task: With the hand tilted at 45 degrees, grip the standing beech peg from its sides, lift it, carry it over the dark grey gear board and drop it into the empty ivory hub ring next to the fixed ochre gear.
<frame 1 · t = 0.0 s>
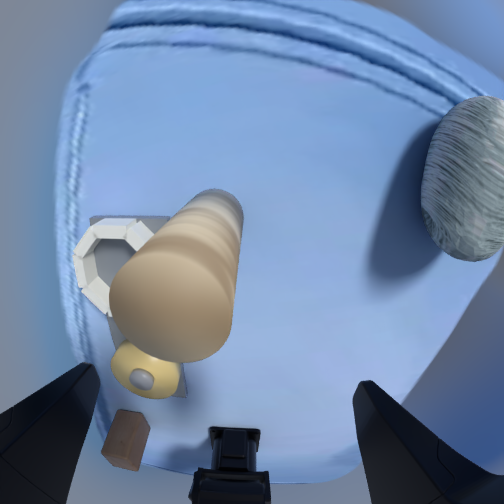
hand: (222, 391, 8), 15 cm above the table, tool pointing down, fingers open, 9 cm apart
gear board: (142, 320, 25), on the table
wooden block: (134, 417, 31), on the table
peg: (214, 217, 21), on the table
grey streaked oval stone: (448, 169, 20), on the table
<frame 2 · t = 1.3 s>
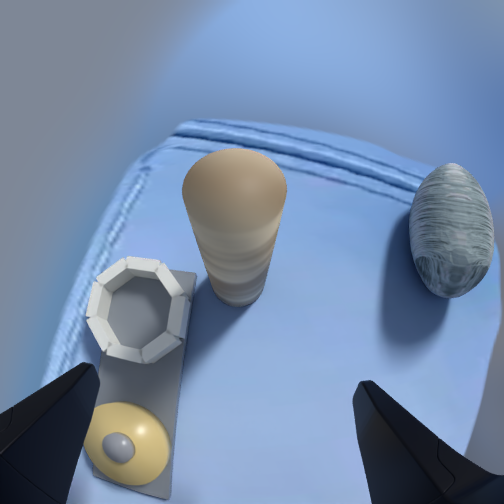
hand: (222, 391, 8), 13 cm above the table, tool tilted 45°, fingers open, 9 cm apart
gear board: (138, 385, 20), on the table
peg: (238, 281, 23), on the table
grey streaked oval stone: (430, 245, 26), on the table
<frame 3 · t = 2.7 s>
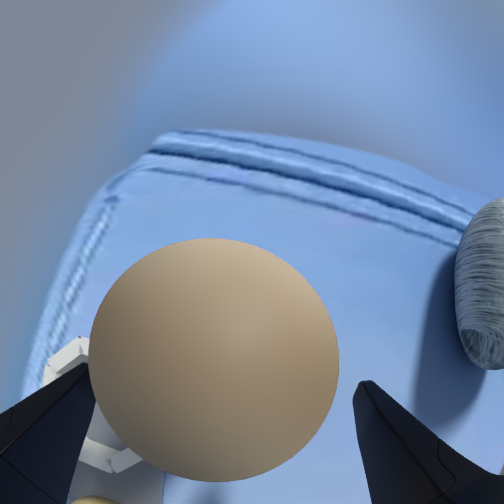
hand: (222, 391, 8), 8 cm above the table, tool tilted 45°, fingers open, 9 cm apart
gear board: (115, 480, 12), on the table
peg: (232, 368, 16), on the table
grey streaked oval stone: (472, 297, 19), on the table
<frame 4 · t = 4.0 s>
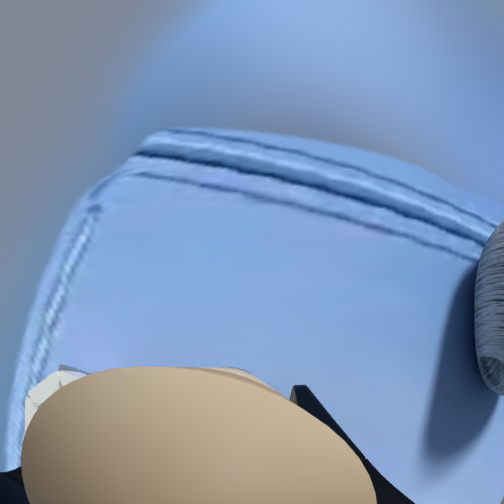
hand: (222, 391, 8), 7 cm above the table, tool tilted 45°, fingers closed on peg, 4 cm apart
peg: (229, 405, 14), on the table, touching gripper
grey streaked oval stone: (489, 315, 16), on the table
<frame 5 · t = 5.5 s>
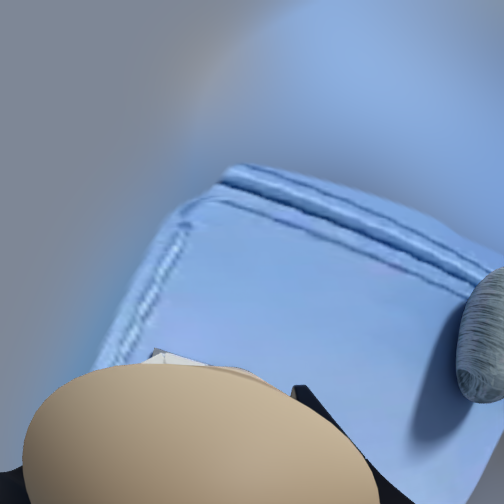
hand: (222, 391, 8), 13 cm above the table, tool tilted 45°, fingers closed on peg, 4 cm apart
gear board: (170, 468, 17), on the table
peg: (230, 405, 14), point 7 cm above the table, touching gripper
grey streaked oval stone: (472, 341, 22), on the table
when the fingers open (10 cm above the table, at t = 6.9 s): peg drops 3 cm, resting on gear board.
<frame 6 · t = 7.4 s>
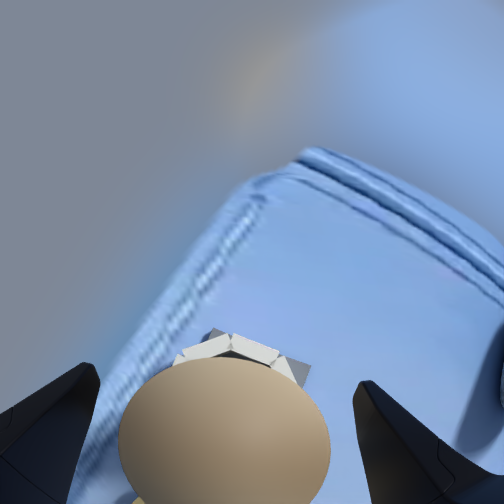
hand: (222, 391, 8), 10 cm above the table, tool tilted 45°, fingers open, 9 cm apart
gear board: (206, 470, 15), on the table
peg: (230, 400, 16), point 1 cm above the table, touching gear board
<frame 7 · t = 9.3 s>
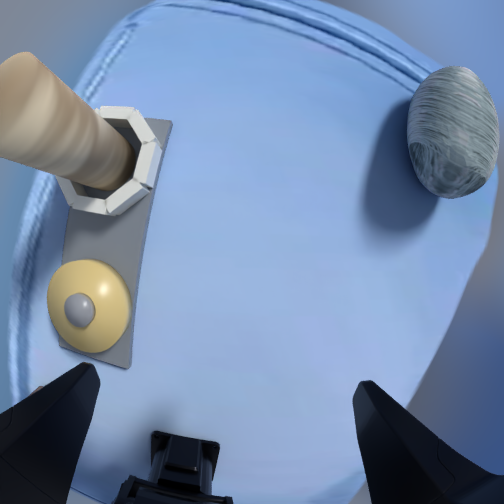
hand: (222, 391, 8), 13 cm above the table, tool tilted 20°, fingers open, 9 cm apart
gear board: (104, 240, 20), on the table
peg: (109, 163, 19), point 1 cm above the table, touching gear board
grey streaked oval stone: (429, 138, 22), on the table
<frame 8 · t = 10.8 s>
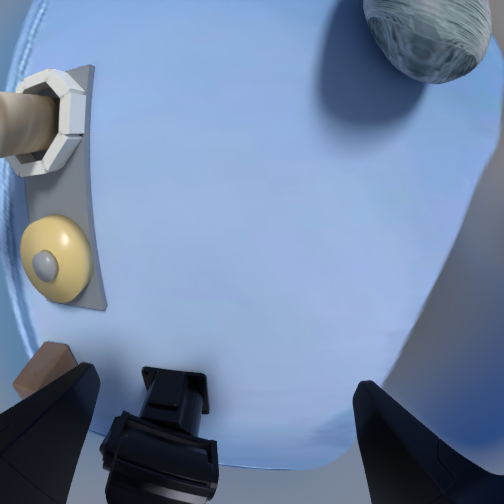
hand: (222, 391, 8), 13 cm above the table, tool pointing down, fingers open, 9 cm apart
gear board: (58, 193, 18), on the table
wooden block: (63, 354, 25), on the table
peg: (46, 123, 16), point 1 cm above the table, touching gear board
grey streaked oval stone: (403, 18, 13), on the table
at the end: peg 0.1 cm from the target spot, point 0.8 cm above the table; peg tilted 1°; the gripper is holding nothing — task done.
